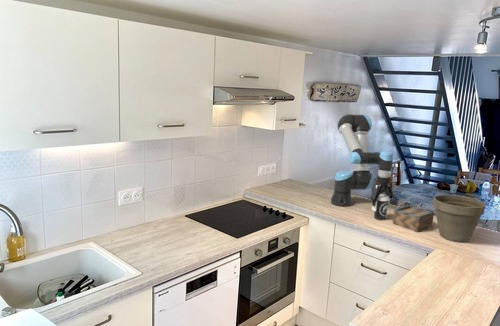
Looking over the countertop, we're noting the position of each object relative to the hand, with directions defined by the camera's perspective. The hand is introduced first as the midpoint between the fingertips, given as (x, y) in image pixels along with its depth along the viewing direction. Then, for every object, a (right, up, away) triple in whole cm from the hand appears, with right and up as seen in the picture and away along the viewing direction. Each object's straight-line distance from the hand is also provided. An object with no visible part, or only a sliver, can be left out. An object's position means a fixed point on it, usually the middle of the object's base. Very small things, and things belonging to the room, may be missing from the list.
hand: (380, 209), depth 228 cm
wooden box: (+16, -9, -9) cm, 20 cm away
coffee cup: (0, -6, +1) cm, 6 cm away
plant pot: (+31, -13, -26) cm, 43 cm away
